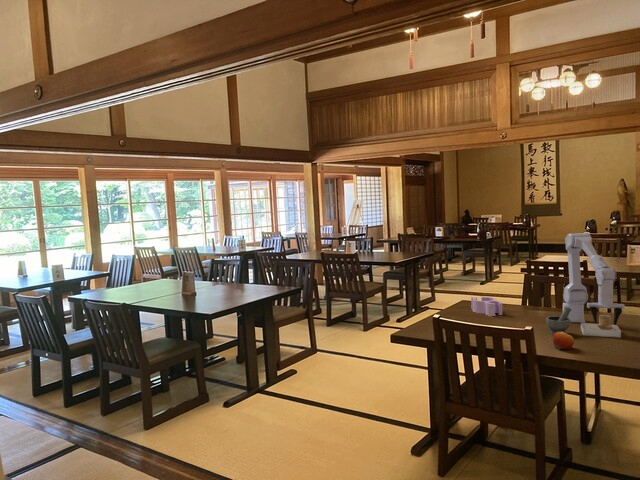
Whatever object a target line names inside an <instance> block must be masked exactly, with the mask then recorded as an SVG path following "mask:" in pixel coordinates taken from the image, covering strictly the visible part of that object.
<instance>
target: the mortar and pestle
mask: <svg viewBox="0 0 640 480" xmlns="http://www.w3.org/2000/svg"><path fill="white" fill-rule="evenodd" d="M570 311H571V309H570V308H568V307H565V310H564V311H563V310H562V313H561V314H560V315H559V316H557V315H553V316H552V315H550V316H547V317H546V318H545V323H546V325H547V327H548V328H549V329H550V334H551V335H554V334H555V333H556V332H564V333H566V331H567V330H568V329H569V327H570V324H571V322H570V319H569V318H567V317H568V315H569V313H570Z"/></svg>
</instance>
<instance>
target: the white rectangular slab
mask: <svg viewBox="0 0 640 480" xmlns="http://www.w3.org/2000/svg"><path fill="white" fill-rule="evenodd" d="M580 331H581V332H582V335H583V336H587V337H588V336H589V337H606V338H618V339H619V338H621V337H622V331H621V329H620V327H619V326H618V325H617V324H616V325H614V324H611V329H603V328H599V323H597V324H595V323H589V322H585V323H580Z"/></svg>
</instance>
